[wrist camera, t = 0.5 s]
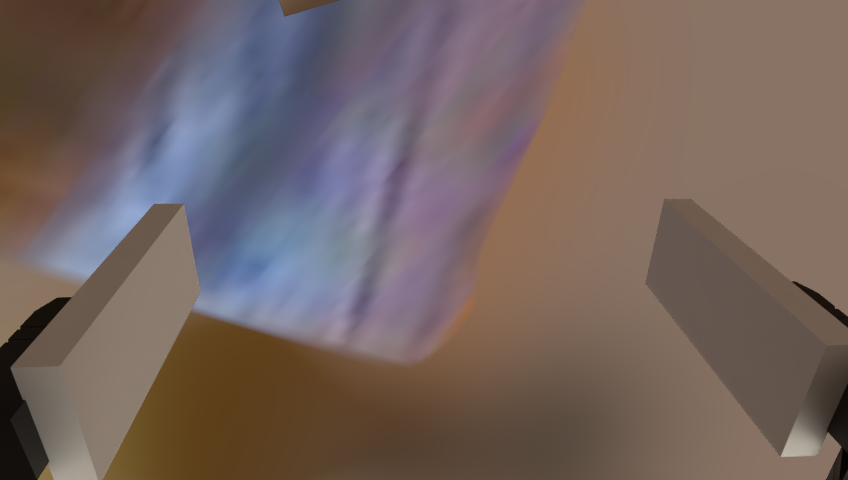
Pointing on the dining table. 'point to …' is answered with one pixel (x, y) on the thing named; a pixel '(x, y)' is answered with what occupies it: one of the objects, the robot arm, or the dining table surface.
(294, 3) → the dark wooden panel
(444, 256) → the dining table surface
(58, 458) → the robot arm
